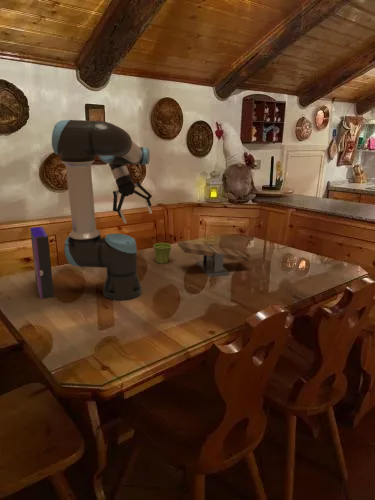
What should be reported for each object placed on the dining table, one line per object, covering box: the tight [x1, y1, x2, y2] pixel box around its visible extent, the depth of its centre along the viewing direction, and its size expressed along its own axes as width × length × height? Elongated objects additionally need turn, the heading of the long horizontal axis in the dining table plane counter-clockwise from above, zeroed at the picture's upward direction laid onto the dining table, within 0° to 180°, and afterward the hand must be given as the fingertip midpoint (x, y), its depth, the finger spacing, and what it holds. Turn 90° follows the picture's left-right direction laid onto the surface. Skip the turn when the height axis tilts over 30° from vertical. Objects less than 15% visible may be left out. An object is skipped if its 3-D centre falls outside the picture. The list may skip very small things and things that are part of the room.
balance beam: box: [177, 240, 249, 262], centre depth 170 cm, size 32×12×2 cm, turn 107°
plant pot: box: [152, 242, 173, 264], centre depth 180 cm, size 9×9×9 cm
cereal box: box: [29, 226, 54, 300], centre depth 141 cm, size 17×5×24 cm, turn 27°
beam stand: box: [196, 244, 230, 278], centre depth 171 cm, size 18×10×10 cm, turn 17°
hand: (138, 218), depth 175 cm, fingers open, 13 cm apart
